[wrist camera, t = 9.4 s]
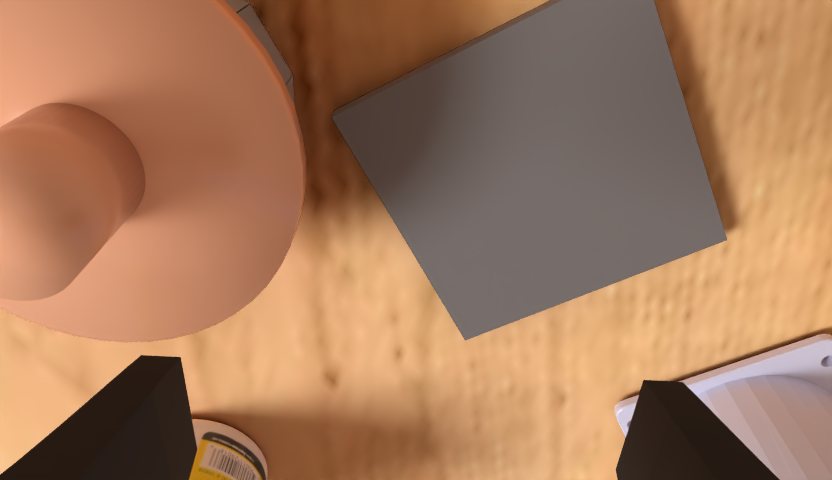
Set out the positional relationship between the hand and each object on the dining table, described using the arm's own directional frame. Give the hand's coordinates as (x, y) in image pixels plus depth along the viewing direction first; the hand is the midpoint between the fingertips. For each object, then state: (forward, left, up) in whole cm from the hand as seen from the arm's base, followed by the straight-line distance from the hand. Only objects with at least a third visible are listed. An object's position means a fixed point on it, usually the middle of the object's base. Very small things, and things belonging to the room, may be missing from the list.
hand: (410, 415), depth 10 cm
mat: (-2, -3, -10) cm, 11 cm away
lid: (+5, +6, -6) cm, 10 cm away
